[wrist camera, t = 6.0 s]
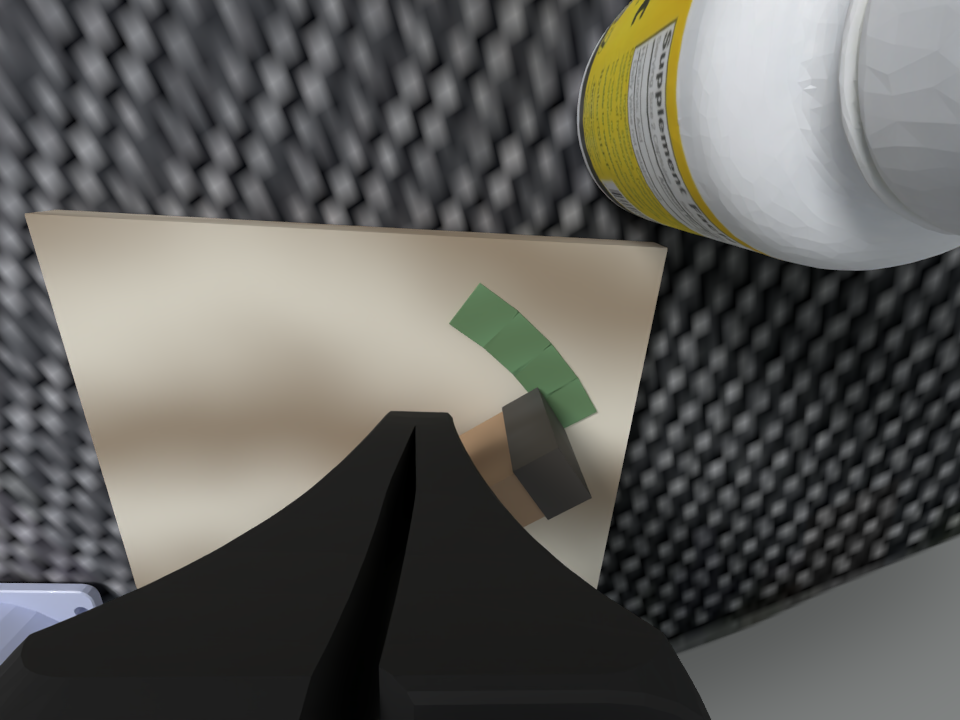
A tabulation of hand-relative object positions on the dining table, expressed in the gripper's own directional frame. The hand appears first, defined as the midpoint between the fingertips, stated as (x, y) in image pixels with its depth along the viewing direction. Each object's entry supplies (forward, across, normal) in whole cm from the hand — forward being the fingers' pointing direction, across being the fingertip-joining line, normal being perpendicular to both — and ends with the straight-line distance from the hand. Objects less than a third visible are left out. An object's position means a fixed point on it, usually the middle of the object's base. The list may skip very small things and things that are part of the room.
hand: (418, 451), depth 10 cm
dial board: (+5, +2, +3) cm, 6 cm away
